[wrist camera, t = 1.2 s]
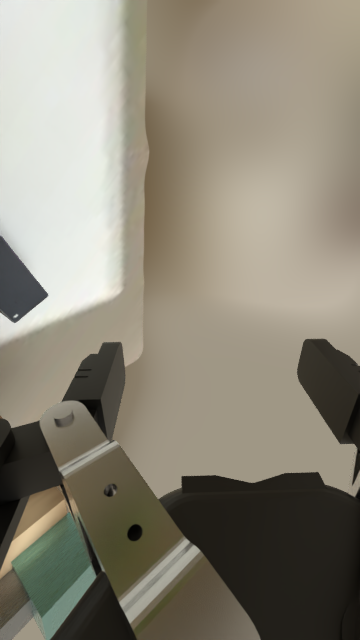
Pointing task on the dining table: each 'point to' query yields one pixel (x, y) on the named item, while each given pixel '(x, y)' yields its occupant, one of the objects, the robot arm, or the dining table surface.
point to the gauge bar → (45, 581)
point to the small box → (17, 285)
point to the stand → (35, 522)
